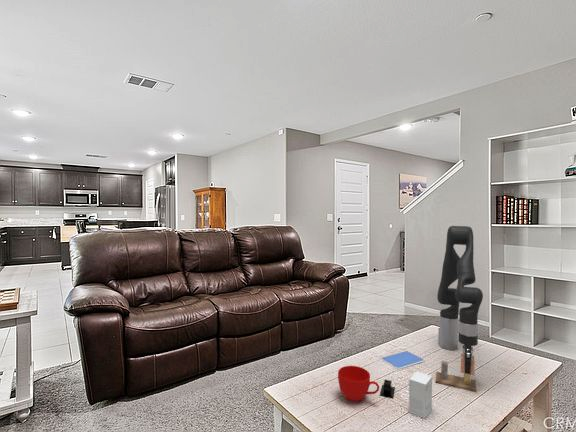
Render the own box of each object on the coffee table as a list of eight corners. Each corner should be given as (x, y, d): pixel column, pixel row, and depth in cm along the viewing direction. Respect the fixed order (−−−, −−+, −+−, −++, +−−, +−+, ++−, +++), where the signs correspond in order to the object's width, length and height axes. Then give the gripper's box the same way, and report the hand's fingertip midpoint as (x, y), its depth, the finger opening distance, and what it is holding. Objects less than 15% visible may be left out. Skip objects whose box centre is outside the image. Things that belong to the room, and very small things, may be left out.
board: (435, 382, 146) (435, 365, 146) (436, 373, 154) (436, 357, 154) (476, 392, 139) (476, 373, 139) (475, 382, 147) (475, 364, 147)
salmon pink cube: (460, 372, 143) (461, 358, 143) (460, 367, 148) (460, 353, 148) (474, 375, 141) (474, 360, 141) (473, 370, 145) (474, 355, 145)
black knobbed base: (380, 383, 146) (381, 373, 146) (397, 387, 144) (398, 376, 144) (377, 398, 135) (377, 387, 135) (395, 402, 132) (395, 391, 132)
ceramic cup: (373, 414, 124) (374, 388, 124) (332, 400, 133) (332, 375, 133) (383, 397, 135) (383, 373, 135) (344, 385, 144) (345, 362, 144)
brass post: (463, 383, 144) (464, 367, 144) (463, 380, 146) (463, 365, 146) (470, 385, 143) (470, 369, 143) (470, 382, 145) (470, 366, 145)
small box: (415, 402, 131) (416, 370, 131) (432, 408, 127) (432, 375, 127) (408, 412, 125) (408, 378, 125) (425, 419, 121) (426, 384, 121)
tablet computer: (397, 371, 158) (397, 368, 158) (379, 360, 169) (379, 357, 169) (425, 362, 167) (425, 360, 167) (406, 352, 178) (406, 350, 178)
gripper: (458, 325, 152) (457, 361, 152) (458, 336, 139) (457, 375, 140) (476, 328, 149) (476, 365, 149) (478, 339, 136) (478, 380, 136)
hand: (467, 370), depth 144 cm, fingers closed on salmon pink cube, 5 cm apart
